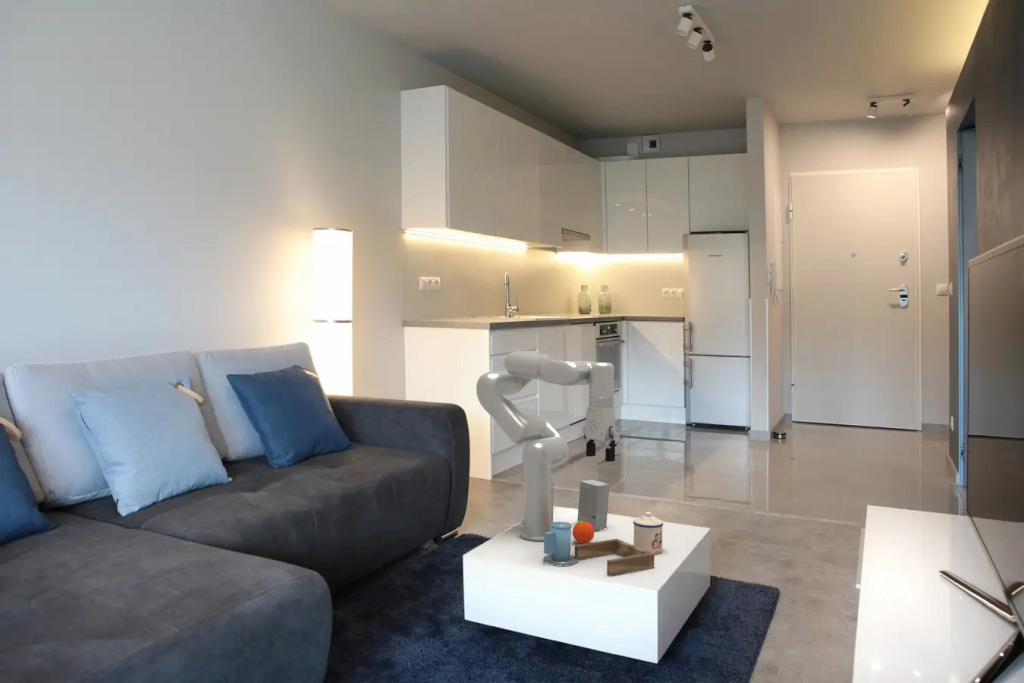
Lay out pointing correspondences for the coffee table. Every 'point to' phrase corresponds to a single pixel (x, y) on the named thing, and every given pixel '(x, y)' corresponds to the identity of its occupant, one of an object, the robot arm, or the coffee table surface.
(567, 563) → the coaster
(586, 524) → the clementine
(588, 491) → the skincare box
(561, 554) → the jug
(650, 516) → the teacup with lid
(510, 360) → the robot arm
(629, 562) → the open wooden frame
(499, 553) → the coffee table surface
